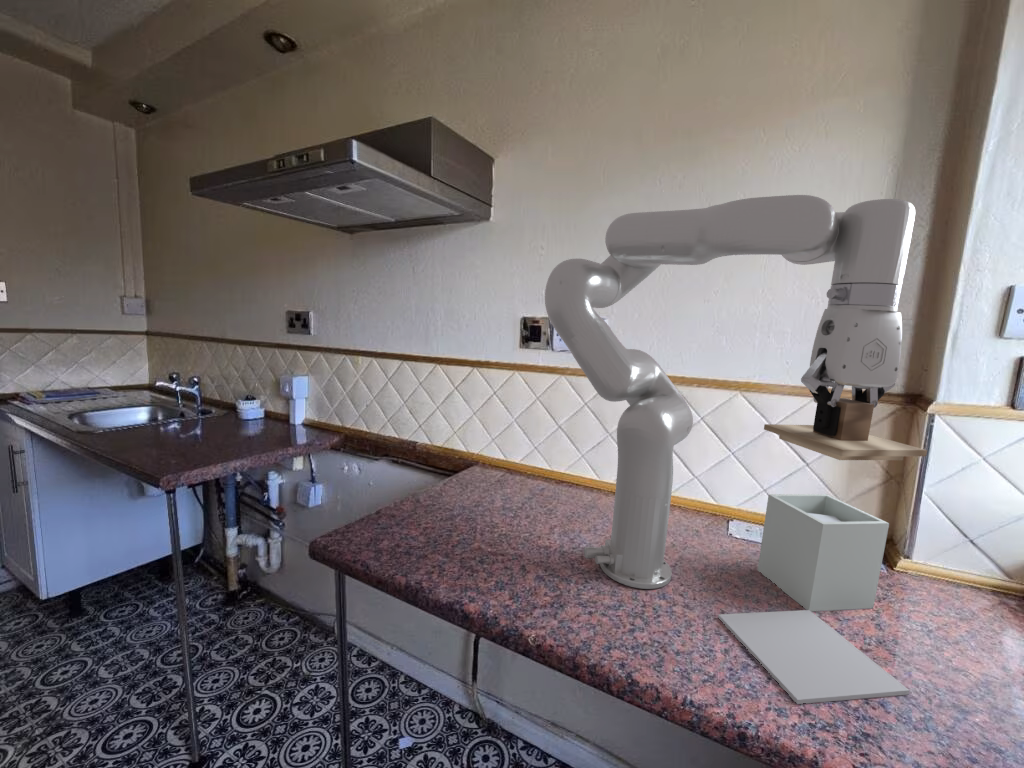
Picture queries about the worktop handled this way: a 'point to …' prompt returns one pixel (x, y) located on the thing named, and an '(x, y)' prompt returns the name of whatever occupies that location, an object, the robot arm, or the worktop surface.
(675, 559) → the worktop surface
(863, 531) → the box
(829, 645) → the mat
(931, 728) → the worktop surface
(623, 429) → the robot arm
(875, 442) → the lid
